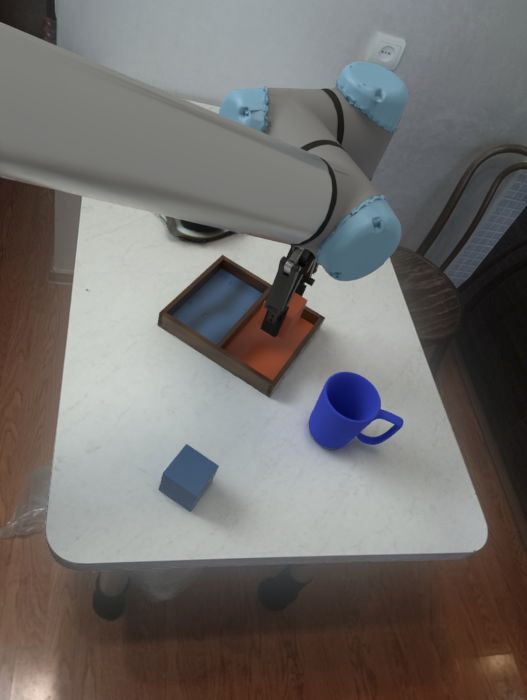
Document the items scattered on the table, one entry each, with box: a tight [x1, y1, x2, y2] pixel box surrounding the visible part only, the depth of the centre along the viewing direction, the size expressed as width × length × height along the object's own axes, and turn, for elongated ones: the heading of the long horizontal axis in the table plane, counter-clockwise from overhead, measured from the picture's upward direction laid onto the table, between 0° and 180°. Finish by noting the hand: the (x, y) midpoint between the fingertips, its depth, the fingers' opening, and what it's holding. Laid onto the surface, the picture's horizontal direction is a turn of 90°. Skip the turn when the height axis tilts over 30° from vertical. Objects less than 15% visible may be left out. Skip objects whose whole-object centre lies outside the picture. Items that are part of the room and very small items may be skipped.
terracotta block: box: [256, 292, 309, 340], centre depth 82 cm, size 5×5×5 cm
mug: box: [308, 371, 404, 450], centre depth 77 cm, size 8×12×10 cm
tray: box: [157, 254, 326, 398], centre depth 87 cm, size 21×18×3 cm
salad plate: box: [158, 214, 235, 243], centre depth 102 cm, size 19×18×5 cm
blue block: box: [158, 443, 219, 513], centre depth 68 cm, size 5×5×5 cm
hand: (277, 320), depth 84 cm, fingers closed on terracotta block, 5 cm apart
